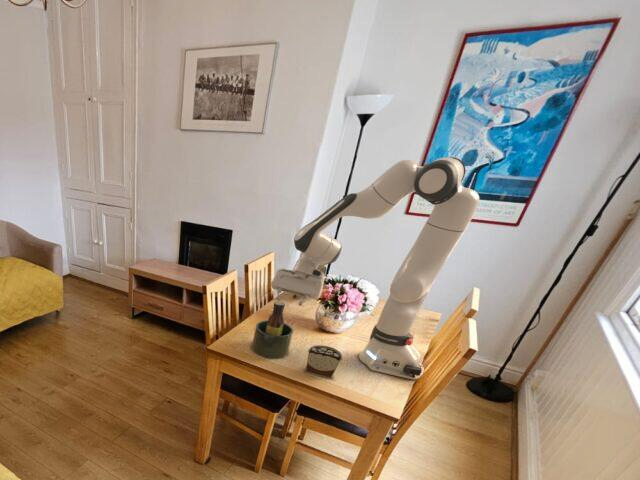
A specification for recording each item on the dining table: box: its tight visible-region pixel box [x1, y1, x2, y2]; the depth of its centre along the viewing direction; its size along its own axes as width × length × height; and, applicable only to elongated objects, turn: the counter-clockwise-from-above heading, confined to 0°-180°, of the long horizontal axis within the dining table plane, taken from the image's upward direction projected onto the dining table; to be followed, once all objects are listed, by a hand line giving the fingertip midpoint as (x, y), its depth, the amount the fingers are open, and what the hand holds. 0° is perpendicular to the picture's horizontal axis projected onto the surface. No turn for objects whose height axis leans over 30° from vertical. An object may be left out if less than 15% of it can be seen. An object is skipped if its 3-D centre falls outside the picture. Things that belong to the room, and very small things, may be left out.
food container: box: [304, 344, 343, 380], centre depth 150 cm, size 12×6×10 cm, turn 59°
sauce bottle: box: [265, 300, 286, 336], centre depth 160 cm, size 7×6×20 cm
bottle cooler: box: [251, 319, 294, 359], centre depth 164 cm, size 15×15×10 cm
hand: (288, 302), depth 163 cm, fingers open, 8 cm apart
